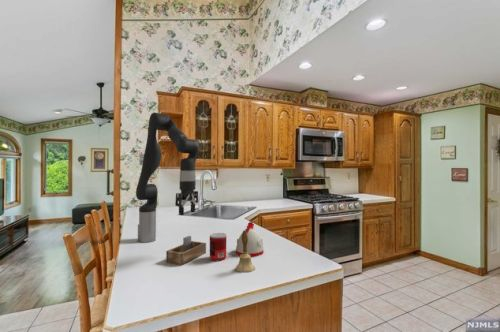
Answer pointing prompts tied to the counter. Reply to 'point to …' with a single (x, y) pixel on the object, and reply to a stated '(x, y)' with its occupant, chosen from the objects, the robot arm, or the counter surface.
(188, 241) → the bracket
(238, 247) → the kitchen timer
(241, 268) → the hand bell
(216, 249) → the canned food
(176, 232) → the counter surface
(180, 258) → the open wooden box
